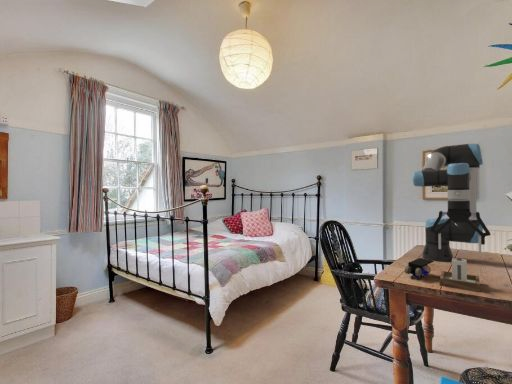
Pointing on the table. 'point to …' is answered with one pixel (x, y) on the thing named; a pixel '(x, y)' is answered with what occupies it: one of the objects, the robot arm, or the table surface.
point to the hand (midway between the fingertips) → (459, 250)
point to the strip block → (459, 269)
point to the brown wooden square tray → (460, 282)
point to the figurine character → (418, 268)
